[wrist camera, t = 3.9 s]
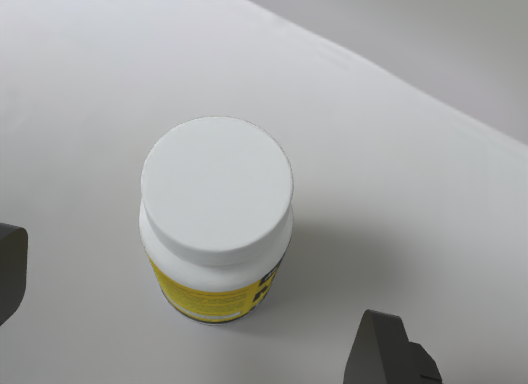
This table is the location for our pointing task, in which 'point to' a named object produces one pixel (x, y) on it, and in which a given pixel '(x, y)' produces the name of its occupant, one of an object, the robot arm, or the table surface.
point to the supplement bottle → (216, 216)
